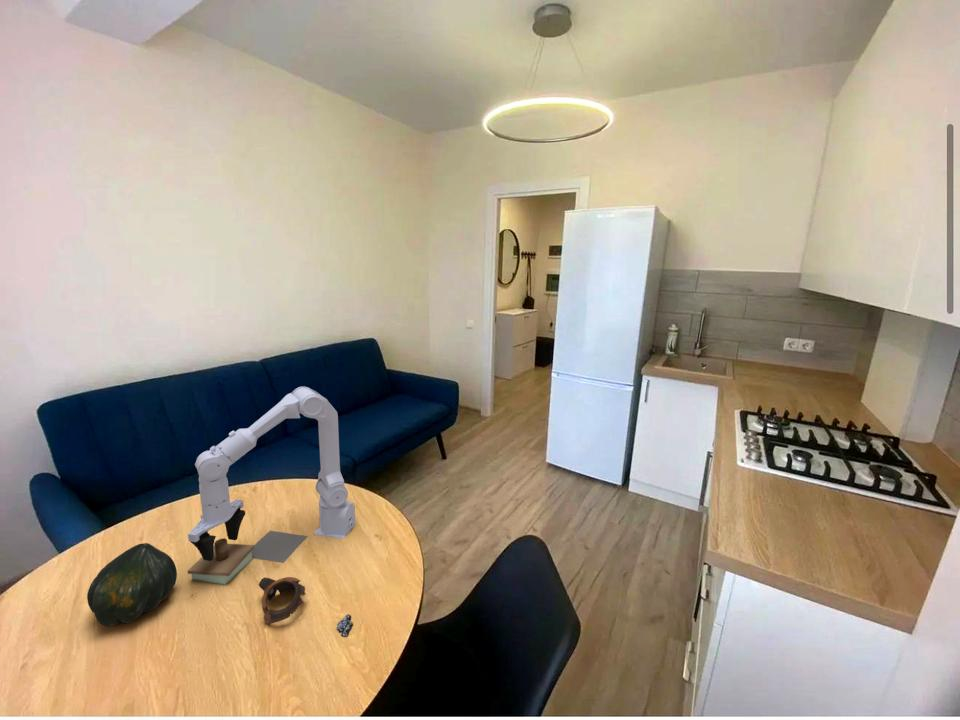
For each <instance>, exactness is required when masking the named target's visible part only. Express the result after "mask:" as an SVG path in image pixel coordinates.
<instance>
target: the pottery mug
mask: <svg viewBox="0 0 960 720" xmlns="http://www.w3.org/2000/svg"><path fill="white" fill-rule="evenodd" d="M300 582H301V580H300V579H299V578H296V577H293V576H287V577H282V578H279V579H277V580H276V579H272V578H270V577H267V576H265V577H263V578H261V580H260V581H259V583H258V586H259V588H260V589H261V590H262V591H263V596H262V600H261V608H262V612H263V614H264V616H263V621H264V622H265V623H266V624H268V625H271V624H274V623H279V622H281V621H284V620H286V619H288V618H289V617H290V616H291V615H293V614H294V613H295V612H296V611H297V610H298V608H299V607H300V606H302V605H303V604H304V603H305V602H304V600H303V598H302V597H301V595H303V594H305V593H306V587H305V585H302V584H301V583H300ZM277 591H278V592H279V594H280V595H283V594H285V593H288V592H291V591H295V592H294V593H295V594H294V597H293V599H292V601H291V602H290V603H289V604H288V605H287V606H286V607H284V608H281V609H278V610H274V609H269V606H268V602H269V601H271V600H272V599H274V598H275V596H276V595H277ZM267 601H268V602H267Z"/></svg>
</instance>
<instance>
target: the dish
mask: <svg viewBox="0 0 960 720" xmlns="http://www.w3.org/2000/svg"><path fill="white" fill-rule="evenodd" d="M252 560H253V558H252V551H251V552H250V553H249V554H248V556H247V557H246V558H245V559H244V560H243V561H242V562H241V563H240V564H239V566H238V567H237V568H236V569H235V570H234V571H233V572H232V573H231V574H230V576H217V575H200V574H190V575H191V581H196V582H201V583H208V584H214V585H220V586H226V585H228V584H229V582H231V581H232V580H233V579H234V578H235V577H236V576H237V575H238V574H239V573H240V572H241V571H242V570H243V569H244V568H246V566H247V565H248V564H249V563H251V562H252Z"/></svg>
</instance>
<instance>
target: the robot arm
mask: <svg viewBox="0 0 960 720" xmlns="http://www.w3.org/2000/svg"><path fill="white" fill-rule="evenodd" d="M300 414H301V415H303V417H306V418H309V419H315V420H316V421H317V423H318V424H317V425H318V443H319V444H318V445H319V446H318V447H319V462H320V471H319V472H318V474H317V475H318V477H317V481H316V482H315V490H316V491H315V492H317V494H319V500H318V509H319V510H318V511H319V527H318V528H317V529H316V530H315V531H314V533H313V535H315V536H322V537H327V538H328V537H330V538H335V539H342V540H344V539H346V537H347V536H348V535H349V533H350V532H351V531H352V530H353V528H354V527H355V525H356V524H357V521H356V507H355V504H354V503H353V502H351V501H349V500H347V499H348V496H349V492H348V489H347V488H346V485H345V480H344V478H343V475H342V473H341V465H340V463H341V462H340V461H341V460H340V439H339V437H340V435H339V434H340V433H339V416H338V415H339V414H338V411H337V410H336V409H335V408H334V407H333V405H332V404H331V403H330V402H329V400H328V399H327V398H326V397H324V396H323V395H321V394H320V393H319V392H317V391H316V390H314V389H312V388H310V387H307V386H299V387H297V388H295V389H294V390H293V391H292V392H290V393H287V394H286V395H285V396H284V397H283V398H282V399H280V401H279V402H277V404H275V406H273V407H272V408H270V409H269V410H268V411H267V412H266V413H265V414H263V415H262V416H261V417H259V419H257V420H256V421H255V422H253V424H251V425H250V426H249V427H247V428H246V427H245V428H238V429H237V430H232V431H230V432H229V433H228V437H226V438H225V439H224V440H222V441H220V443H218V444H217V445H212V446H211V447H210V448H209V450H205V451H203V452H202V453H200V454H199V455H198V456H197V457H196V461H195V463H194V466H195V468H196V470H197V474H198V482H199V484H198V488H199V489H198V490H199V496H200V504H201V505H200V506H201V512H202V513H201V515H200V520H199V522H198V523H197V524H196V525H195V527H194V528H193V529H191V531H190V532H188V533H187V538H188V542H189V543H191V544H192V545H193V546H194V547H195V548H196V549H197V551H198V552H199V554H200V555H201V558H202V557H203V559H204V560H207V561H211V560H213V557H214V551H213V546H214V543H215V540H216V537H217V536H216V535H212V534H210V532H209V531H211V530H212V529H215V528H216V527H218V526H220V525H222V524H224V525H225V526H224V527H225V531H226V536H227V538H228V539H227V540H230V541H237V540H238V537H239V533H240V532H239V531H240V529H241V524H242V522H243V519H244V517H245V516H246V510H243V509H242V508H244V500H243V499H235V500H233V501H231V500H230V499H231V498H230V489H229V488H230V487H229V480H228V479H229V478H228V477H227V474H228V472H229V468H230V466H232V465H233V464H235V463H236V462H237V461H238V460H240V459H241V458H242V457H244V456H245V455H246V454H247V453H248V452H249V451H252V450H253V449H254V448H255V447H256V446H257V441H258V439H259V438H260V437H262V436H264V435H265V434H266V433H267V432H269V431H270V430H272V429H273V428H274V427H276V426H277V425H279V424H281V422H284V420H286V419H300V418H301V416H300Z"/></svg>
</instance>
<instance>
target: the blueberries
mask: <svg viewBox="0 0 960 720" xmlns="http://www.w3.org/2000/svg"><path fill="white" fill-rule="evenodd" d="M361 624H362V622H360V623H359V625H361ZM353 627H354V622H353V621H352V615H350V614H346V615H345V616H344V617H343V618H341V620H340V621H338V623H337V624H336V630H337V632H338V634H340V637H342V638H348V637H349V635H350V632H351V630H352V629H353ZM358 629H360V627H359V626H358Z"/></svg>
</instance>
